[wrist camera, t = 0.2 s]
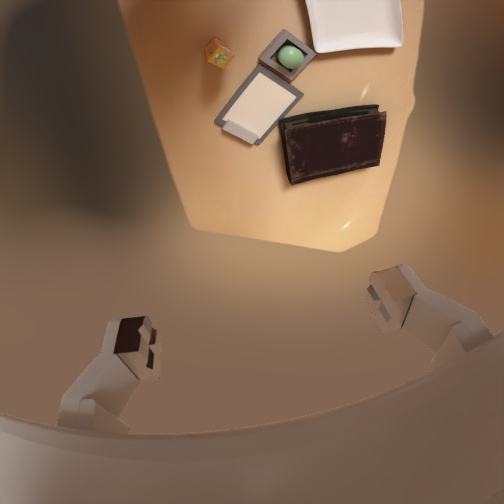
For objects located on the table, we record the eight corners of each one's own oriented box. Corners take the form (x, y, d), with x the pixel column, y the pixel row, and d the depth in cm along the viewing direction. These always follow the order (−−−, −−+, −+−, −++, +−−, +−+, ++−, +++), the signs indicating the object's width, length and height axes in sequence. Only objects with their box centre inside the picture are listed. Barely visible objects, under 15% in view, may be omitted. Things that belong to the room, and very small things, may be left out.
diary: (371, 157, 70) (379, 168, 67) (286, 175, 71) (292, 188, 68) (377, 100, 54) (388, 110, 52) (277, 115, 56) (284, 126, 53)
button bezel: (283, 28, 40) (286, 30, 38) (313, 51, 44) (316, 53, 43) (258, 57, 44) (260, 59, 43) (288, 77, 49) (291, 80, 48)
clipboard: (259, 63, 46) (261, 65, 44) (302, 93, 52) (305, 96, 51) (213, 121, 55) (214, 125, 54) (257, 143, 62) (259, 148, 61)
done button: (286, 41, 41) (291, 44, 39) (303, 53, 43) (308, 57, 42) (272, 56, 44) (276, 60, 42) (289, 68, 46) (293, 72, 44)
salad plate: (310, 51, 44) (316, 55, 42) (288, -39, 27) (293, -41, 25) (396, 43, 42) (404, 48, 40) (386, -38, 25) (395, -37, 23)
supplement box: (218, 57, 43) (222, 71, 38) (203, 49, 41) (204, 61, 36) (229, 45, 41) (235, 55, 36) (214, 36, 39) (217, 45, 34)
